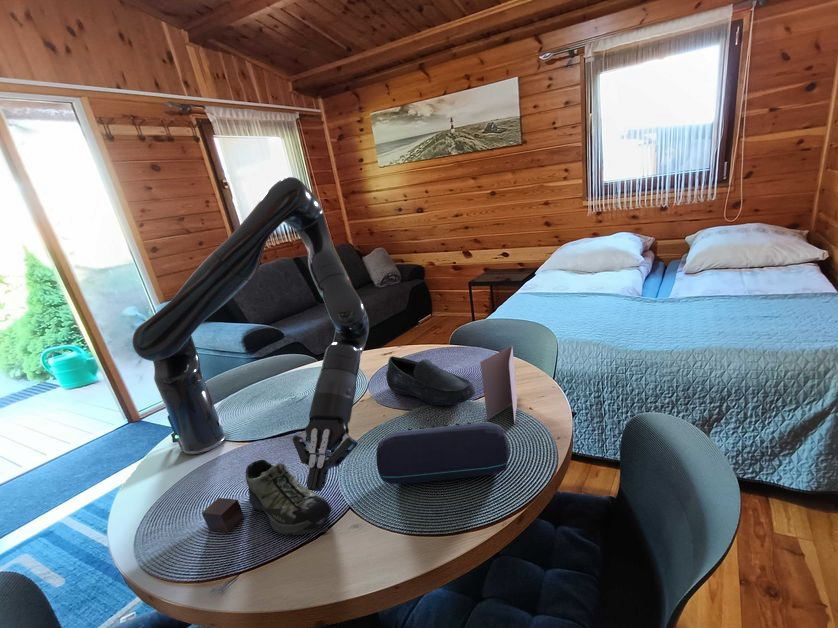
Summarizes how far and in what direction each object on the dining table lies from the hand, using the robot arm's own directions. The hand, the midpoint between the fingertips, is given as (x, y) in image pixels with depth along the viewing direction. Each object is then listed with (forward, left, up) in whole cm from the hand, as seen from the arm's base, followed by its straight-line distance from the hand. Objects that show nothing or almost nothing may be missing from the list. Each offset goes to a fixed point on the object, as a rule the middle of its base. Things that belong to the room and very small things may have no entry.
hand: (314, 490), depth 77 cm
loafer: (+5, +45, -5) cm, 46 cm away
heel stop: (-17, -5, -5) cm, 18 cm away
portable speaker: (+20, +13, -5) cm, 25 cm away
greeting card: (+29, +37, -5) cm, 48 cm away
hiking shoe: (-7, 0, -5) cm, 9 cm away
